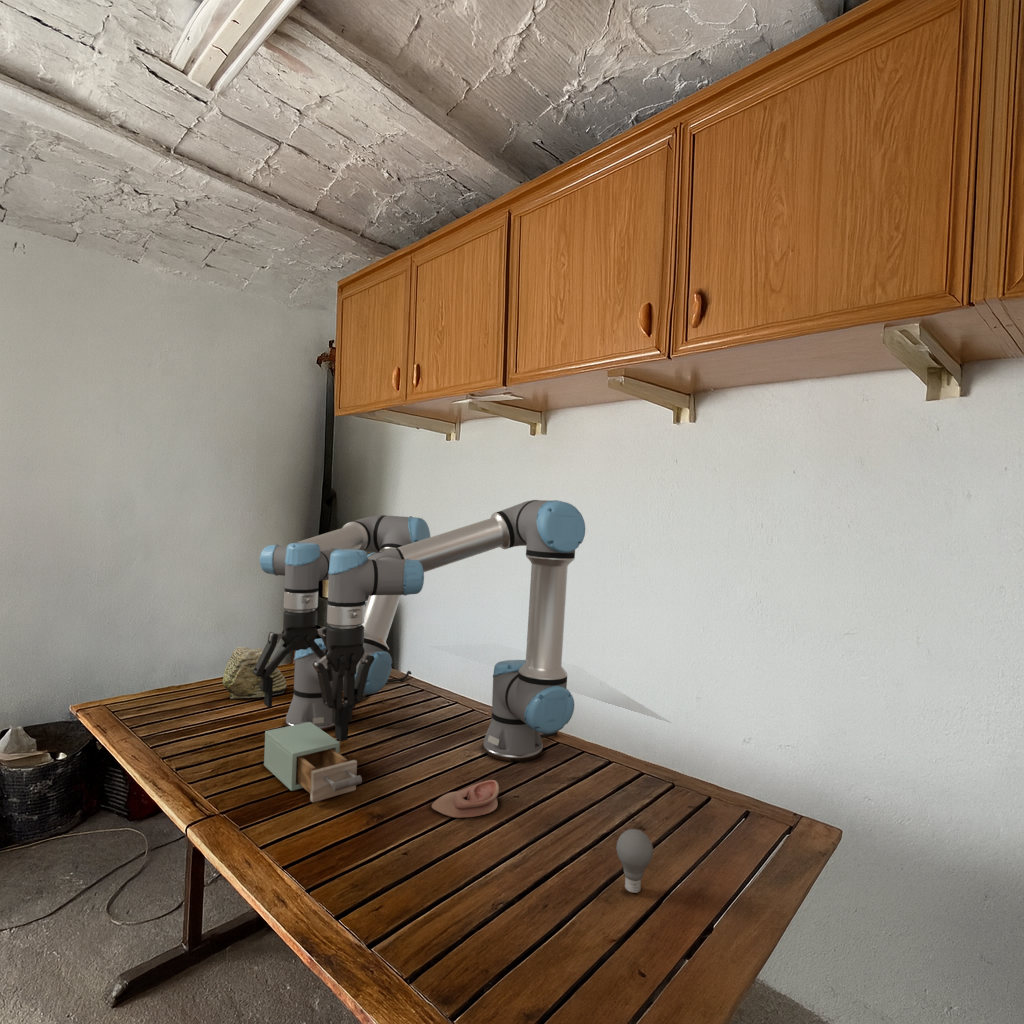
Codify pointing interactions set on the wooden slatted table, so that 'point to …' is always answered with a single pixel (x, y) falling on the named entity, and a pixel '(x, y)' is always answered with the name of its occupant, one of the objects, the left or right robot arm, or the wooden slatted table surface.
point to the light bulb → (634, 857)
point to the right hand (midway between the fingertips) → (341, 738)
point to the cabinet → (294, 749)
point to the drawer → (326, 774)
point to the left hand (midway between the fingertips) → (297, 700)
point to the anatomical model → (469, 800)
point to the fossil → (248, 675)
